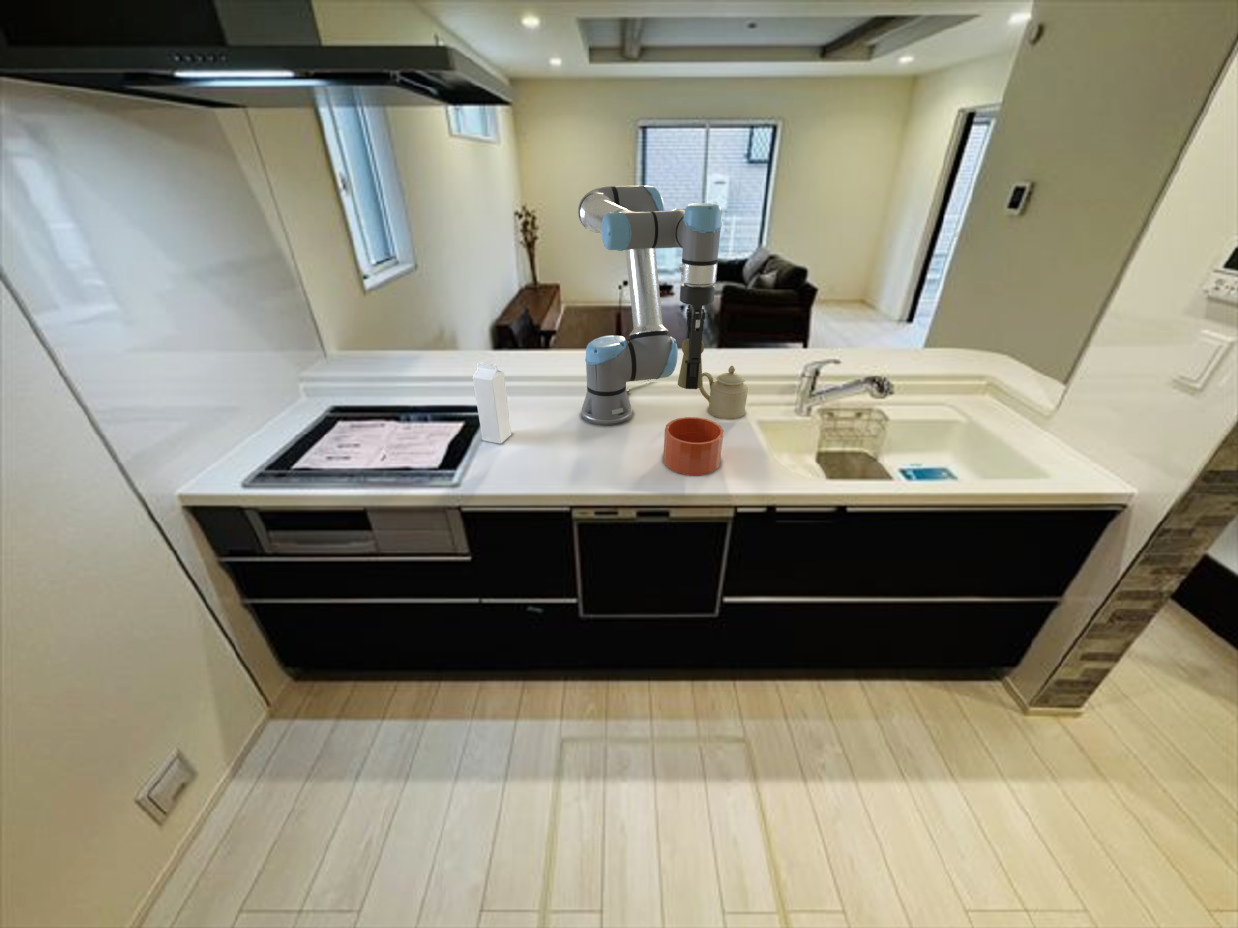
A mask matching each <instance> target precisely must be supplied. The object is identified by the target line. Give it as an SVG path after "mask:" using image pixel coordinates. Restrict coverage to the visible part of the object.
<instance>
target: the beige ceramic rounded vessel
mask: <svg viewBox="0 0 1238 928" xmlns="http://www.w3.org/2000/svg"><path fill="white" fill-rule="evenodd" d="M727 371H728V372H723V373H721V374H719V375H717V377H716V380H714V378H713V376H712V374H711V373H710V372H702V378H703V377H706V378H707V379H708V383H709V390H710V391H709V392H710V393H709V394H708V393H707V391H706V390H705V388H704V385H703V386H702V387H700V388H698V390H699V392H700V393H701V395H702V396H703V397H704V398H705V399H706V400H707V402H708V412H709V414H711V416H714V417H716V418H719V419H724V420H735V419H739V418H741V417H743V416H744V415H745V410H746V407H747V406H746V405H747V401H748V400H747V399H748V391H749V387H748V385H747V384H746V383H745V382H746V379H745V378H744V377H743V376H741V375H740V374H738V373H736V372H735V371H736V368H735V367H734V365H730V366H729V367H728V370H727Z"/></svg>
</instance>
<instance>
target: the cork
mask: <svg viewBox="0 0 1238 928" xmlns="http://www.w3.org/2000/svg"><path fill="white" fill-rule="evenodd" d="M681 351H682V354H683V355H682V359H681V364H680V370H679V375H678V379H677V386H678V387H680V388H682V389H685V390H687V389H686V388H685V387H686V373H687V363H685V360H688V356H689V338H688V339H684V340H683V341H682V344H681ZM704 351H705V342H704V341H703V340H702V346H701V355H702V354H703V353H704ZM702 361H703V360H702V359H701V362H700V363H699V373H698V385H697V389H696V390H699V388H700V387H702V386H703V387H704V383H703V382H704V381H703V377H702V373H703V364H702V363H703V362H702Z"/></svg>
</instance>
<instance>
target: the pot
mask: <svg viewBox="0 0 1238 928" xmlns="http://www.w3.org/2000/svg"><path fill="white" fill-rule="evenodd" d="M663 436H664V439H663V455H662V457H663V462H664V464H665V466H666V467H667V468H668V469H670V470H671V471H673V472H675V473H678V474H682V475H686V476H704V475H708V474H711V473H713V472H714V471H716V470H717V469H718V468H720V467H719V466H720V465H721V457H722V456H721V455H722V449H723V439H724V429H723V427H722V426H721V425H720V424H718V423H717V422H715V421H713V420H710V419H708V418H703V417H697V416H685V417H679V418H675V419H673V420H670V421H669V422H668V423H667V424H665V428H664V435H663Z"/></svg>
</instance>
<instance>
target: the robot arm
mask: <svg viewBox="0 0 1238 928" xmlns="http://www.w3.org/2000/svg"><path fill="white" fill-rule="evenodd" d="M577 215H578V219H579V222H580V223H581V225H582V226H583V227H584V228H585V229H586V230H588V231H589V232H591V233H595V234H601V240H602V243H603V246H604V248H605V249H606V250H608V251H619V252H623V251H625V257H626V267H627V276H628V278H627V279H628V287H629V296H630V304H631V305H630V306H631V315H632V325H633V329H632V330H631V332H630V333H629V340H627V339H626V337H624V336H622V335H619V334H618V335H614V334H611V335H604V336H600V337H596V338H594V339H592V340H591V341H590V342H588V344H587V345H586V348H585V361H584V362H585V367H586V369H585V370H586V371H585V372H586V394H585V397H584V400H583V404H582V407H581V416H582V418H583V419H584V420H585V421H586V422H588V423H590V424H594V425H598V426H614V425H619V424H620V425H621V424H623V423H625V422H627V421H629V420H630V419H631V417H632V416H633V415H632V414H633V407H632V404H631V402H630V399H629V393H630V391H627V382H637V381H638V382H639V381H649V380H651V379H656V380H659V379H663V378H669V377H670V376H672V375H673V373H674V371H675V370H676V368H677V367H676V366H677V363H678V357H679V355H678V354H679V351H678V350H679V349H678V343H677V340H676V339H675V337H672V336H670V332H669V329H668V328H666V327H665V326H664V324H663V315H662V314H663V313H662V303H661V294H660V282H659V274H658V273H659V272H658V261H657V252H656V249H674V248H676V249H678V248H681V249H682V251H681V253H682V255H681V266H679V267H678V272H680V273H681V275H680V281H681V282H682V283H681V284H680V287H679V301H680V302H681V303H682V304H685V305H687V308H686V311H685V312H686V313H685V315H686V334H685V335H686V337H685V338H686V339H688V338H689V356H688V360H685V363H687V373H686V387H685V388H686V389H685V388H684V389H685V390H698V389H697V385H698V373H699V363H700V362H701V360H702V354H701V346H702V341H703V332H704V324H705V320H706V311H705V308H703V307H704V306H708V305H711V304H712V303H714V302H715V292H716V286H715V283H716V282H717V274H718V264H719V263H718V259H719V249H720V241H721V240H720V239H721V231H722V230H721V229H722V207H721V206H720V205H719V204H716V203H707V202H706V203H705V202H704V203H703V202H702V203H698V202H697V203H689V204H688V205H687V206H686V207H685V208H675V209H671V210H665V204H664V200H663V197H662V194H661V192H660V191H659V189H657V188H656V187H655V186H653V185H643V184H638V185H606V186H605V185H604V186H600V187H597V188H594V189H592V190H590V191H588V192H586V193H585V194H584V196H583V197H582V198H581V199H580V202H579V204H578V207H577ZM686 339H685V340H686Z"/></svg>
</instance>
